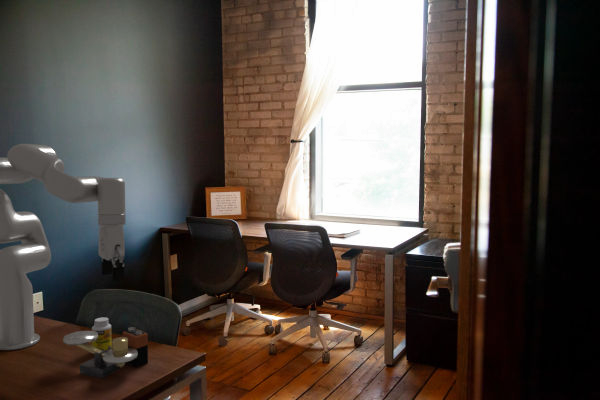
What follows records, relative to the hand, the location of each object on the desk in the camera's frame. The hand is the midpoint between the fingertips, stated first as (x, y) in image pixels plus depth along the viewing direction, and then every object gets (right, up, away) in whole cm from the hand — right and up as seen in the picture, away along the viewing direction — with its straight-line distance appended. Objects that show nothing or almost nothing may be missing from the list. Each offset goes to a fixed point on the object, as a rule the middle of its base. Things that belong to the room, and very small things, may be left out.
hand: (112, 277), depth 141 cm
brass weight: (+6, -19, -11) cm, 23 cm away
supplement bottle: (-6, -24, +6) cm, 26 cm away
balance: (0, -25, -8) cm, 26 cm away
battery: (+7, -25, -2) cm, 26 cm away
